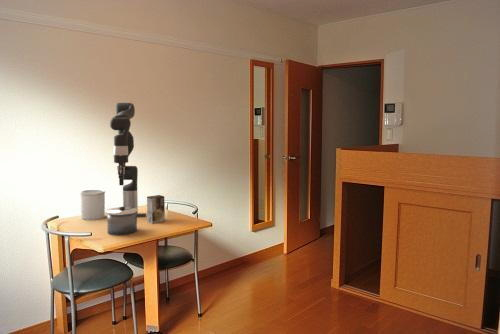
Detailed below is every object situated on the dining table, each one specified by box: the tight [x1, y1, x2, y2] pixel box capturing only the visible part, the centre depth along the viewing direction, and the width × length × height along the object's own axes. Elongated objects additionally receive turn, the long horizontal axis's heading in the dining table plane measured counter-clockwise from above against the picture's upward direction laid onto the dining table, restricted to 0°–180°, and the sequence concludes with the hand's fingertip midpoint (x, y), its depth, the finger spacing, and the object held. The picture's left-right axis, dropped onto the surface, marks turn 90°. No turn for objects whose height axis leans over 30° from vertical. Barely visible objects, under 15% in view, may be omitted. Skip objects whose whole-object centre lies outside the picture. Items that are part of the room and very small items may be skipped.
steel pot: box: [106, 212, 147, 236], centre depth 223 cm, size 16×21×11 cm
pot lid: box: [105, 206, 139, 215], centre depth 221 cm, size 18×17×3 cm
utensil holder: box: [79, 188, 106, 221], centre depth 253 cm, size 15×15×18 cm
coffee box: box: [146, 194, 166, 224], centre depth 246 cm, size 9×6×16 cm
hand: (121, 185), depth 217 cm, fingers closed
